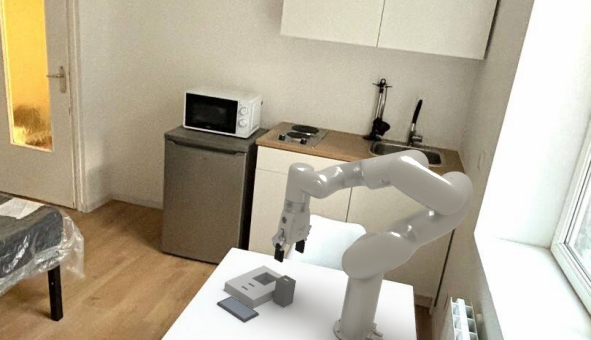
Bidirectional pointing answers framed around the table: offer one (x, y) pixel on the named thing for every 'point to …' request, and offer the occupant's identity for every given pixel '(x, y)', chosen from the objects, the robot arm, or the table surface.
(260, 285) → the outlet plate
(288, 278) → the block
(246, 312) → the phone
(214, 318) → the table surface
